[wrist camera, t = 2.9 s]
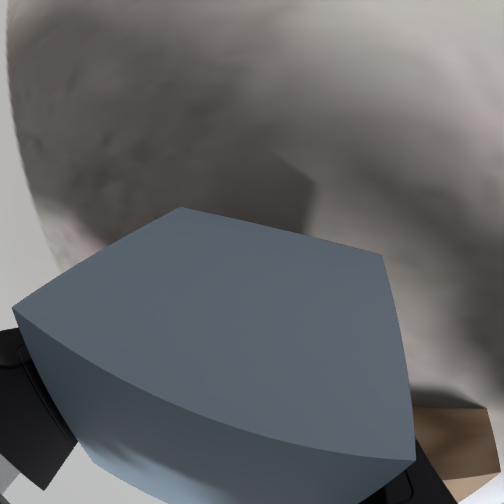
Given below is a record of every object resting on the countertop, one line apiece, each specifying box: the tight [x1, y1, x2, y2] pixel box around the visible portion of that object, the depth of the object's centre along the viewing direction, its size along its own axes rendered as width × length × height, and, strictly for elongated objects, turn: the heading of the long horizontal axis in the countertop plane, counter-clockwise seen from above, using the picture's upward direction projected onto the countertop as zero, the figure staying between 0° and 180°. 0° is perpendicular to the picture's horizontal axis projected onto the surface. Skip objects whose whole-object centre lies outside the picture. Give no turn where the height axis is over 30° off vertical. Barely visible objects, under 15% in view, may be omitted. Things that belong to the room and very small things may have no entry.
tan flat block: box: [412, 406, 501, 503], centre depth 12 cm, size 9×9×5 cm
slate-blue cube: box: [12, 207, 416, 504], centre depth 7 cm, size 6×6×6 cm
